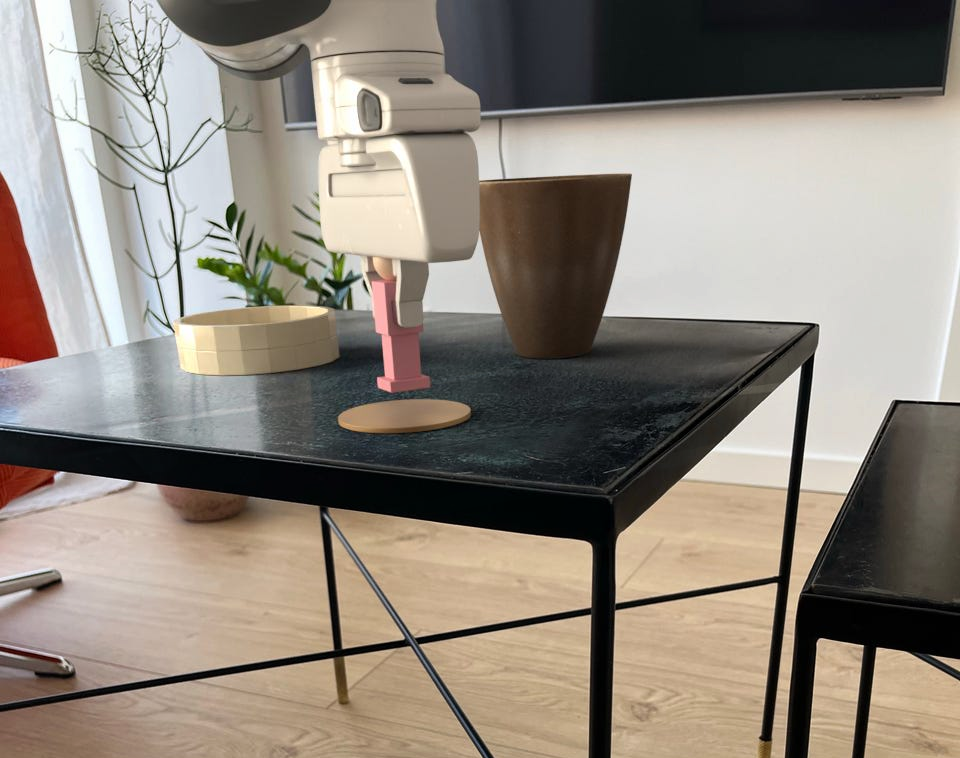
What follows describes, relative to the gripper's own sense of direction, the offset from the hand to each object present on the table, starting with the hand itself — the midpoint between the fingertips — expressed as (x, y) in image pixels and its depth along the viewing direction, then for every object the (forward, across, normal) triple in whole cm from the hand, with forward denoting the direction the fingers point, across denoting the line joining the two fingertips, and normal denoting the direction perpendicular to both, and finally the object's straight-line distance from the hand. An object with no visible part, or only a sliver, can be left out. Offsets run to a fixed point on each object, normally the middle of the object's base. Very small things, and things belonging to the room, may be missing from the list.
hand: (398, 323), depth 74 cm
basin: (+7, -31, -2) cm, 32 cm away
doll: (+5, 0, 0) cm, 5 cm away
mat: (+7, 0, 0) cm, 7 cm away
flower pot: (+7, -18, +24) cm, 31 cm away
